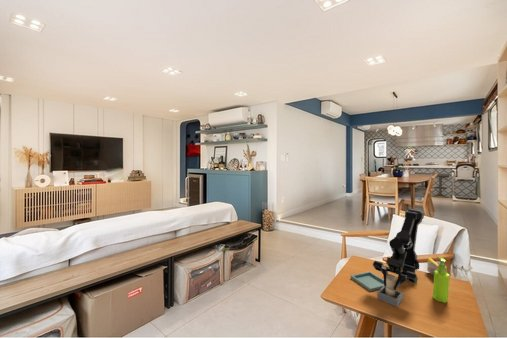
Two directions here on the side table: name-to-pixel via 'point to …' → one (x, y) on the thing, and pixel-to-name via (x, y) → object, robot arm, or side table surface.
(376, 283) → the green-grey tray
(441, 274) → the soap dispenser
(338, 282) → the side table surface
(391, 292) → the rounded wooden peg
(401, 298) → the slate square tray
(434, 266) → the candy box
